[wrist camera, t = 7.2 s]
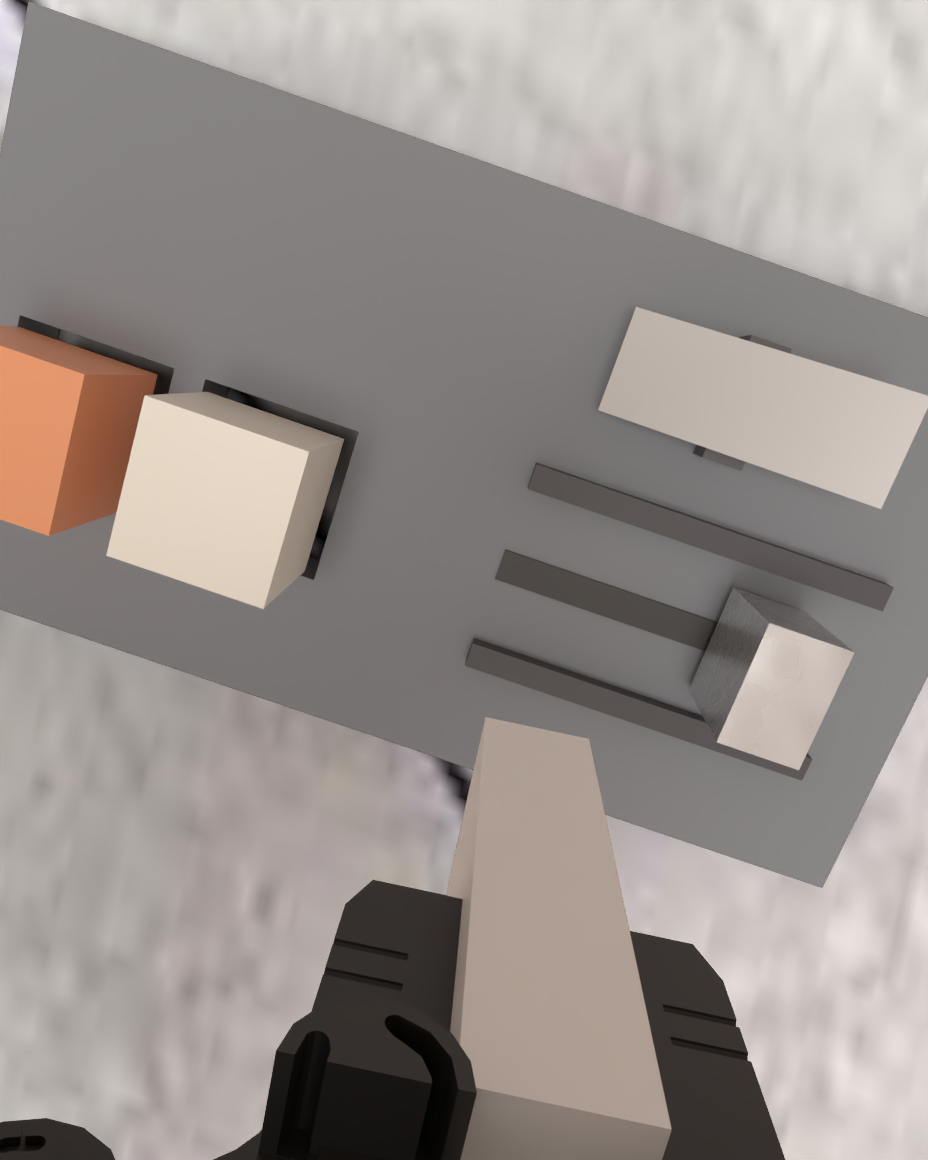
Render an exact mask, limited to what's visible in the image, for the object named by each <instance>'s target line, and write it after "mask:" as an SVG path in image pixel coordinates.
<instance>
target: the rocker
mask: <svg viewBox="0 0 928 1160" xmlns="http://www.w3.org/2000/svg"><path fill="white" fill-rule="evenodd" d="M927 408H928V396H927V395H924V394H921V393H918V392H914V391H911V390H908V389H904V388H901V387H898V386H895V385H891V384H888V383H885V382H881V381H878V380H875V379H872V378H868V377H865V376H862V375H858V374H855V373H852V372H849V371H845V370H842V369H839V368H835V367H832V366H829V365H826V364H822V363H819V362H816V361H812V360H809V359H806V358H803V357H799V356H796V355H793V354H790V353H786V352H783V351H780V350H776V349H773V348H770V347H767V346H763V345H760V344H757V343H753V342H750V341H747V340H744V339H740V338H737V337H734V336H730V335H727V334H724V333H721V332H717V331H714V330H711V329H707V328H704V327H701V326H698V325H694V324H691V323H688V322H684V321H681V320H678V319H675V318H671V317H668V316H665V315H661V314H658V313H655V312H652V311H648V310H645V309H642V308H639V307H636V309H635V311H634V314H633V317H632V319H631V322H630V325H629V328H628V330H627V333H626V336H625V338H624V341H623V344H622V347H621V349H620V352H619V355H618V357H617V360H616V363H615V366H614V368H613V371H612V374H611V376H610V379H609V382H608V385H607V387H606V390H605V393H604V395H603V398H602V401H601V404H600V406H599V409H598V410H599V411H602V412H605V413H608V414H611V415H614V416H617V417H619V418H622V419H625V420H628V421H631V422H634V423H637V424H639V425H642V426H645V427H648V428H651V429H654V430H657V431H659V432H662V433H665V434H668V435H671V436H674V437H677V438H679V439H682V440H685V441H688V442H691V443H694V444H697V445H699V446H702V447H705V448H708V449H711V450H714V451H717V452H719V453H722V454H725V455H728V456H731V457H734V458H737V459H739V460H742V461H745V462H748V463H751V464H754V465H756V466H759V467H762V468H765V469H768V470H771V471H774V472H776V473H779V474H782V475H785V476H788V477H791V478H794V479H796V480H799V481H802V482H805V483H808V484H811V485H814V486H816V487H819V488H822V489H825V490H828V491H831V492H834V493H836V494H839V495H842V496H845V497H848V498H851V499H854V500H856V501H859V502H862V503H865V504H868V505H871V506H874V507H876V508H879V509H881V508H882V506H883V504H884V502H885V500H886V497H887V495H888V493H889V491H890V489H891V487H892V484H893V482H894V480H895V478H896V476H897V474H898V471H899V469H900V467H901V465H902V463H903V461H904V458H905V456H906V454H907V452H908V450H909V448H910V445H911V443H912V441H913V439H914V437H915V435H916V432H917V430H918V428H919V426H920V424H921V421H922V419H923V417H924V415H925V413H926V411H927Z"/></svg>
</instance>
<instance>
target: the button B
mask: <svg viewBox="0 0 928 1160" xmlns="http://www.w3.org/2000/svg"><path fill="white" fill-rule="evenodd" d="M343 442H344V439H343V438H340V437H337V436H334V435H331V434H328V433H326V432H323V431H320V430H317V429H314V428H311V427H308V426H305V425H302V424H299V423H297V422H294V421H291V420H288V419H285V418H282V417H279V416H276V415H273V414H270V413H268V412H265V411H262V410H259V409H256V408H253V407H250V406H247V405H244V404H241V403H239V402H236V401H233V400H230V399H227V398H224V397H221V396H218V395H215V394H212V393H210V392H195V393H177V394H158V395H145V396H144V400H143V404H142V408H141V413H140V417H139V421H138V425H137V429H136V433H135V438H134V442H133V446H132V450H131V454H130V458H129V463H128V467H127V471H126V475H125V479H124V483H123V488H122V492H121V496H120V500H119V504H118V509H117V513H116V517H115V521H114V525H113V529H112V534H111V538H110V542H109V546H108V550H107V554H106V556H109V557H112V558H115V559H118V560H121V561H124V562H127V563H130V564H132V565H135V566H138V567H141V568H144V569H147V570H150V571H153V572H156V573H159V574H162V575H165V576H168V577H171V578H174V579H177V580H179V581H182V582H185V583H188V584H191V585H194V586H197V587H200V588H203V589H206V590H209V591H212V592H215V593H218V594H221V595H223V596H226V597H229V598H232V599H235V600H238V601H241V602H244V603H247V604H250V605H253V606H256V607H259V608H262V609H264V608H265V607H266V606H267V605H269V604H270V603H271V602H272V601H273V600H274V599H275V598H276V597H277V596H278V595H279V594H281V593H282V592H283V591H284V590H285V589H286V588H287V587H288V586H289V585H290V584H291V583H293V582H294V581H295V580H296V579H297V578H298V577H299V576H300V575H301V574H302V573H303V572H304V571H305V569H306V565H307V562H308V559H309V555H310V552H311V549H312V545H313V542H314V539H315V535H316V532H317V529H318V525H319V522H320V519H321V515H322V512H323V509H324V505H325V502H326V499H327V495H328V492H329V489H330V485H331V482H332V479H333V475H334V472H335V468H336V465H337V462H338V458H339V455H340V452H341V448H342V445H343Z"/></svg>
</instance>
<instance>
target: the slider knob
mask: <svg viewBox="0 0 928 1160" xmlns="http://www.w3.org/2000/svg"><path fill="white" fill-rule="evenodd" d="M854 653H855V652H854V651H853V650H851V649H850V648H849V647H848V646H846V645H845V644H844V643H843V642H842V641H840V640H839V639H838V638H837V637H836V636H834V635H833V634H832V633H831V632H829V631H828V630H827V629H826V628H825V627H823V626H822V625H821V624H820V623H819V622H817V621H816V620H815V619H814V618H812V617H811V616H810V615H809V614H808V613H806V612H804V611H801V610H798V609H795V608H792V607H789V606H787V605H784V604H781V603H778V602H775V601H772V600H769V599H766V598H763V597H760V596H758V595H755V594H752V593H749V592H746V591H743V590H740V589H737V588H734V587H733V588H732V591H731V593H730V595H729V598H728V600H727V602H726V605H725V607H724V609H723V612H722V614H721V616H720V619H719V621H718V623H717V626H716V628H715V630H714V633H713V635H712V637H711V640H710V642H709V644H708V647H707V649H706V651H705V654H704V656H703V658H702V661H701V663H700V665H699V668H698V670H697V672H696V675H695V677H694V679H693V682H692V684H691V686H690V689H689V692H690V694H691V696H692V698H693V700H694V701H695V703H696V705H697V707H698V709H699V711H700V713H701V714H702V716H703V718H704V720H705V722H706V724H707V725H708V727H709V729H710V731H711V733H712V735H713V737H714V738H715V740H716V742H717V743H720V744H723V745H726V746H729V747H732V748H735V749H738V750H741V751H744V752H747V753H750V754H753V755H755V756H758V757H761V758H764V759H767V760H770V761H773V762H776V763H779V764H782V765H785V766H788V767H791V768H794V769H797V770H799V769H800V767H801V765H802V763H803V761H804V759H805V756H806V754H807V752H808V750H809V748H810V746H811V744H812V742H813V740H814V737H815V735H816V733H817V731H818V729H819V727H820V725H821V723H822V720H823V718H824V716H825V714H826V712H827V710H828V708H829V706H830V704H831V701H832V699H833V697H834V695H835V693H836V691H837V689H838V687H839V685H840V682H841V680H842V678H843V676H844V674H845V672H846V670H847V668H848V666H849V663H850V661H851V659H852V657H853V655H854Z"/></svg>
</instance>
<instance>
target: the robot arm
mask: <svg viewBox="0 0 928 1160" xmlns="http://www.w3.org/2000/svg"><path fill="white" fill-rule="evenodd" d="M747 1056H748V1051H747V1049H746V1046H745V1043H744V1040H743V1037H742V1034H741V1031H740V1028H739V1027H736V1017H735V1014H734V1011H733V1008H732V1006H731V1003H730V1000H729V997H728V994H727V991H726V988H725V985H724V983H723V980H722V979H721V978H720V977H719V976H718V974H717V973H716V972H715V971H714V969H713V968H712V967H711V966H710V965H709V963H708V962H707V961H706V960H705V959H704V957H703V956H702V955H701V954H700V953H699V951H698V950H697V949H696V948H695V946H694V945H693V944H689V943H684V942H679V941H675V940H670V939H665V938H660V937H656V936H651V935H646V934H642V933H637V932H632V931H630V930H629V926H628V921H627V916H626V911H625V907H624V902H623V897H622V893H621V888H620V883H619V878H618V874H617V869H616V864H615V859H614V855H613V850H612V845H611V841H610V836H609V831H608V826H607V822H606V817H605V812H604V808H603V803H602V798H601V793H600V789H599V784H598V779H597V774H596V770H595V765H594V760H593V756H592V751H591V746H590V741H589V739H587V738H583V737H578V736H573V735H568V734H564V733H559V732H554V731H549V730H545V729H540V728H535V727H531V726H526V725H521V724H516V723H512V722H507V721H502V720H497V719H493V718H488V717H485V721H484V726H483V730H482V735H481V739H480V744H479V748H478V753H477V757H476V762H475V766H474V771H473V775H472V780H471V784H470V789H469V793H468V797H467V802H466V806H465V811H464V815H463V820H462V824H461V829H460V833H459V838H458V842H457V847H456V851H455V856H454V860H453V865H452V869H451V874H450V878H449V882H448V889H447V896H446V895H442V894H437V893H432V892H428V891H423V890H418V889H413V888H409V887H404V886H399V885H395V884H390V883H385V882H380V881H376V880H372V881H371V882H370V883H369V884H368V885H367V886H366V887H364V888H363V889H362V890H361V891H360V892H359V893H358V894H357V895H355V896H354V897H353V898H352V899H351V900H350V901H349V902H347V903H346V904H345V907H344V910H343V914H342V917H341V920H340V923H339V926H338V929H337V933H336V936H335V939H334V944H333V945H332V948H331V952H330V955H329V958H328V961H327V964H326V968H325V972H324V975H323V977H322V980H321V983H320V986H319V990H318V993H317V996H316V999H315V1002H314V1006H313V1009H312V1012H311V1013H309V1014H308V1015H306V1016H305V1017H303V1018H302V1019H300V1020H299V1021H297V1022H296V1023H294V1024H293V1025H292V1027H291V1029H290V1030H289V1032H288V1033H287V1035H286V1036H285V1038H284V1040H283V1041H282V1043H281V1044H280V1046H279V1047H278V1049H277V1050H276V1055H275V1061H274V1067H273V1072H272V1078H271V1083H270V1089H269V1094H268V1100H267V1106H266V1111H265V1117H264V1122H263V1128H262V1130H261V1131H260V1133H258V1134H257V1135H256V1136H254V1137H253V1138H251V1139H250V1140H249V1141H247V1142H246V1143H245V1144H243V1145H242V1146H240V1147H239V1148H238V1149H236V1150H234V1151H232V1152H230V1153H227V1154H225V1155H223V1156H220V1157H218V1158H216V1159H214V1160H785V1158H784V1155H783V1152H782V1149H781V1146H780V1143H779V1140H778V1138H777V1135H776V1132H775V1129H774V1126H773V1123H772V1120H771V1117H770V1115H769V1112H768V1109H767V1106H766V1103H765V1100H764V1097H763V1095H762V1092H761V1089H760V1086H759V1083H758V1080H757V1077H756V1074H755V1072H754V1069H753V1066H752V1063H751V1062H750V1061H748V1060H747ZM0 1160H115V1158H114V1156H113V1154H112V1151H111V1149H110V1148H108V1147H107V1146H106V1145H105V1144H103V1143H102V1142H101V1141H100V1140H98V1139H97V1138H96V1137H94V1136H93V1135H92V1134H91V1133H89V1132H88V1131H87V1130H86V1129H84V1128H82V1127H79V1126H75V1125H71V1124H67V1123H63V1122H59V1121H55V1120H51V1119H47V1118H44V1119H31V1120H19V1121H7V1122H1V1123H0Z"/></svg>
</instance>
